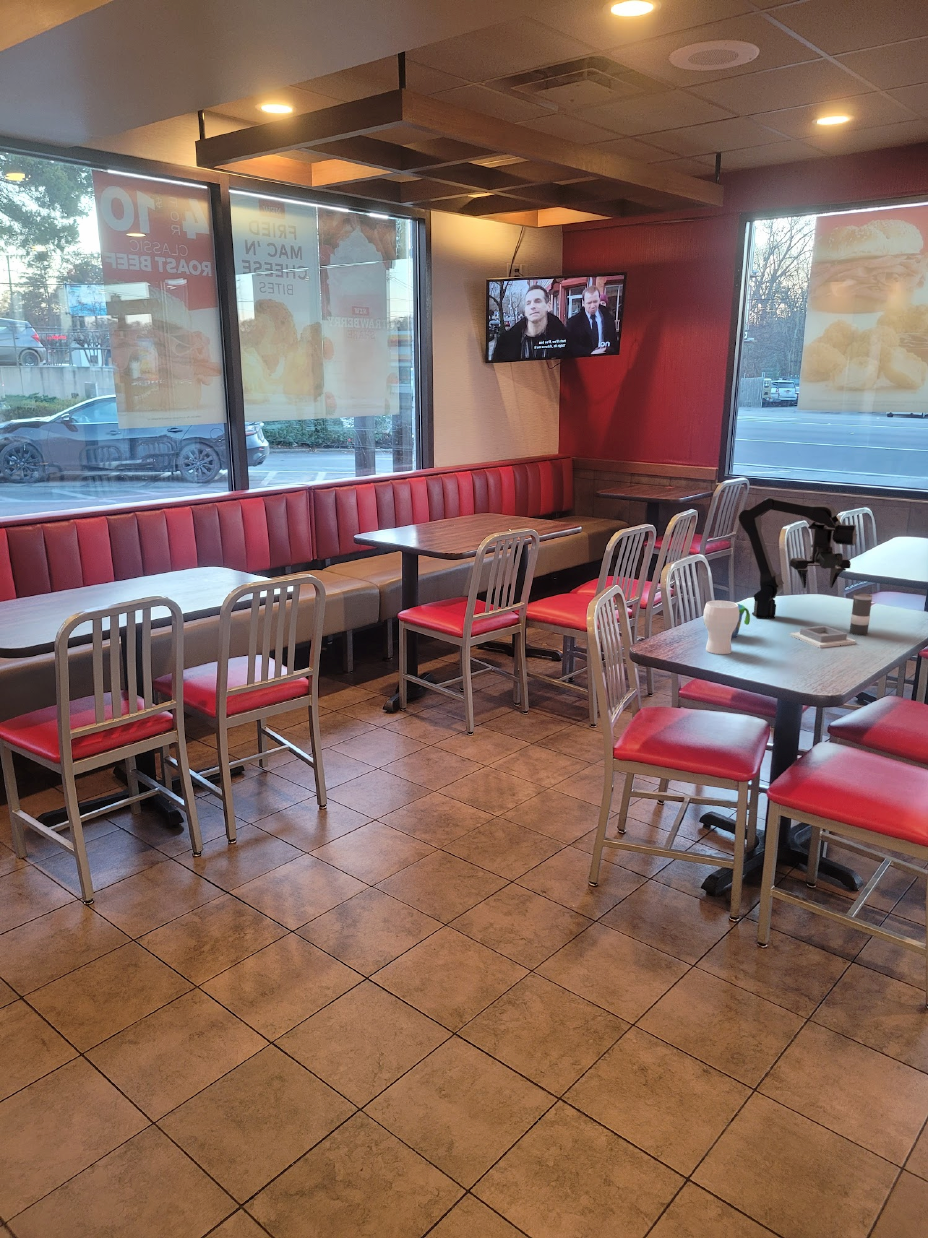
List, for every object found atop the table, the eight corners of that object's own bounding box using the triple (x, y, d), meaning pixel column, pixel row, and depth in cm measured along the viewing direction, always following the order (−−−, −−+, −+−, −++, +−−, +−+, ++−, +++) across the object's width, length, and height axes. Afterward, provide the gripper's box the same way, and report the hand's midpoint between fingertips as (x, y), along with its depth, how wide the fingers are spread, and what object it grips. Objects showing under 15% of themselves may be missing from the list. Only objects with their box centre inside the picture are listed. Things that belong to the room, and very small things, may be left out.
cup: (712, 657, 274) (715, 609, 270) (694, 647, 283) (697, 601, 279) (742, 654, 276) (747, 607, 272) (724, 644, 286) (728, 598, 282)
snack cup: (741, 630, 302) (743, 600, 300) (755, 639, 292) (758, 608, 290) (697, 631, 300) (699, 602, 298) (709, 640, 290) (711, 610, 288)
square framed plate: (790, 636, 295) (791, 627, 295) (825, 632, 300) (826, 623, 299) (819, 648, 283) (820, 638, 282) (855, 643, 287) (856, 634, 286)
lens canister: (853, 635, 296) (858, 597, 293) (846, 630, 302) (851, 593, 298) (870, 635, 296) (875, 597, 293) (863, 630, 302) (867, 593, 298)
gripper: (803, 547, 294) (799, 593, 298) (860, 546, 295) (855, 593, 299) (791, 541, 305) (787, 586, 309) (845, 540, 305) (840, 585, 309)
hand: (817, 587), depth 306 cm, fingers open, 9 cm apart
